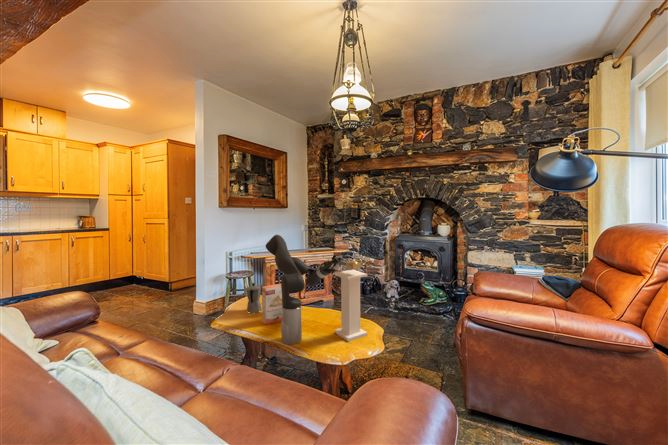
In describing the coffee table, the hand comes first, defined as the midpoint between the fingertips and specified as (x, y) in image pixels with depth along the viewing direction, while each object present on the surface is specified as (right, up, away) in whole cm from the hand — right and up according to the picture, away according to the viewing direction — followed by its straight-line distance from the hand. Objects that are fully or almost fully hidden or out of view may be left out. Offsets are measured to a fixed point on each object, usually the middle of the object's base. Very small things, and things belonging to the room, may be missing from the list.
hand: (339, 259), depth 156 cm
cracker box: (-37, -38, +11) cm, 54 cm away
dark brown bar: (+4, -3, -5) cm, 7 cm away
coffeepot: (-53, -37, +26) cm, 69 cm away
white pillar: (+6, -38, -6) cm, 39 cm away
